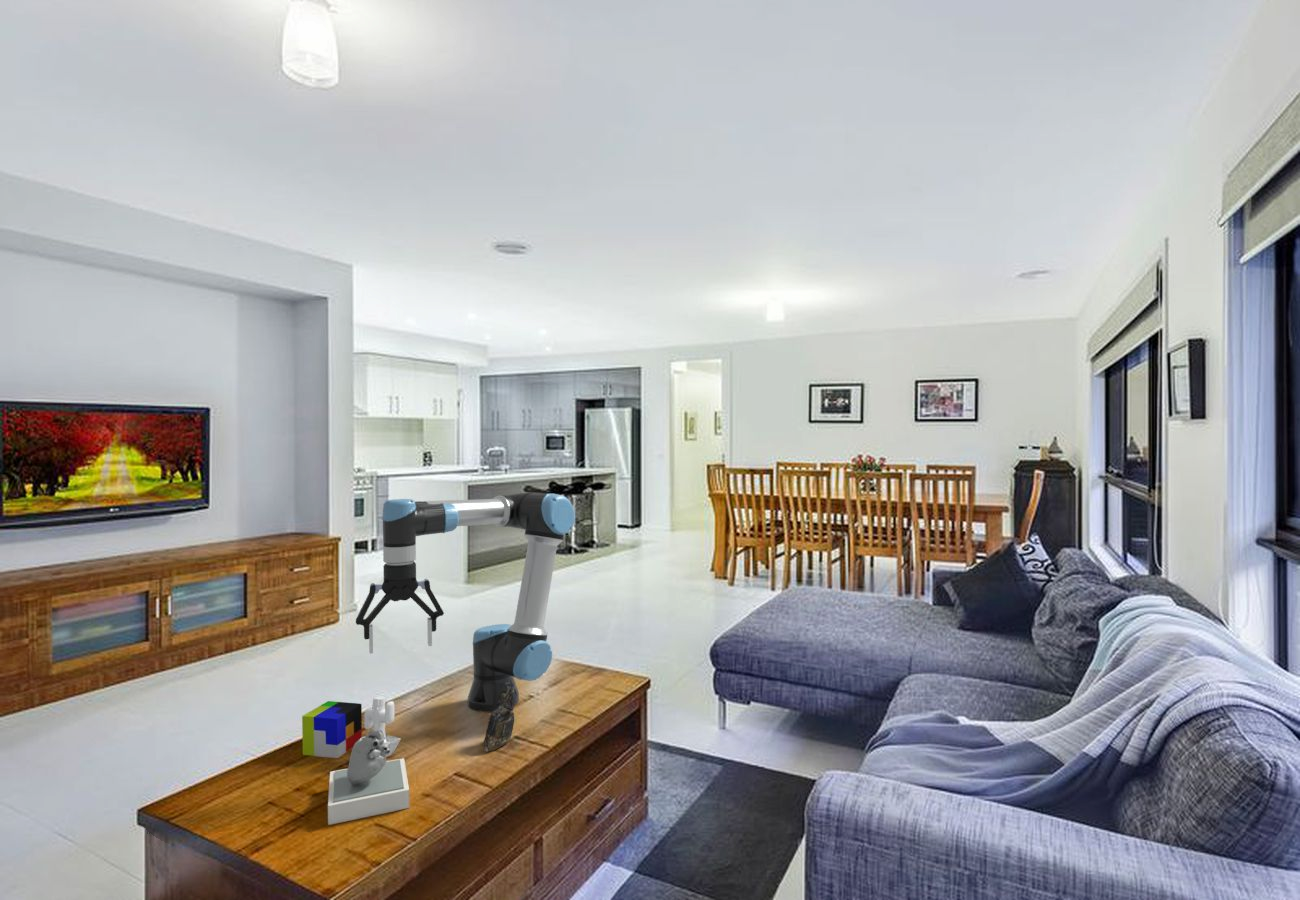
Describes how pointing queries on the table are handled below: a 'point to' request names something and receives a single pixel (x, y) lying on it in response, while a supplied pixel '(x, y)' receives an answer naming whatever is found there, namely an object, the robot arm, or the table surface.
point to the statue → (501, 719)
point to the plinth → (368, 793)
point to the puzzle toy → (331, 729)
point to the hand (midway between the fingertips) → (401, 648)
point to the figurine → (381, 719)
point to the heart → (368, 757)
